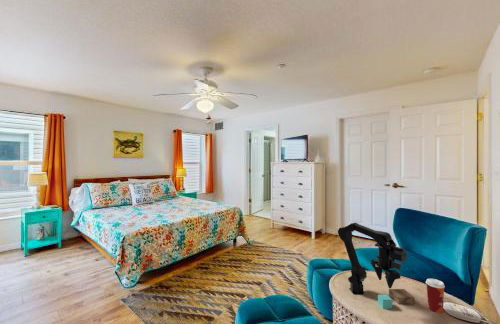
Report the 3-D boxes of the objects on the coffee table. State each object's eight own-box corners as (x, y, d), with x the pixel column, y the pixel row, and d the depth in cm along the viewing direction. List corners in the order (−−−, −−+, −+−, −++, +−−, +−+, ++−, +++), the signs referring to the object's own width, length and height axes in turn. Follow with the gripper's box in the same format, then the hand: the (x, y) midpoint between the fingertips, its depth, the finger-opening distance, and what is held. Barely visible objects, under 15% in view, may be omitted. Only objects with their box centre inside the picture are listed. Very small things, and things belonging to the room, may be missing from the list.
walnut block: (398, 304, 132) (398, 297, 132) (389, 295, 141) (388, 289, 141) (414, 304, 132) (414, 297, 132) (404, 295, 141) (403, 288, 141)
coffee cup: (446, 316, 121) (446, 287, 121) (426, 311, 125) (426, 282, 125) (444, 307, 128) (443, 280, 128) (425, 303, 132) (424, 276, 132)
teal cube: (383, 308, 128) (382, 299, 128) (378, 303, 133) (377, 294, 133) (392, 308, 128) (392, 299, 128) (386, 303, 133) (386, 294, 133)
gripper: (410, 262, 122) (411, 292, 122) (388, 249, 141) (388, 275, 140) (389, 262, 122) (389, 293, 121) (370, 249, 140) (370, 276, 140)
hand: (384, 283), depth 131 cm, fingers open, 9 cm apart
